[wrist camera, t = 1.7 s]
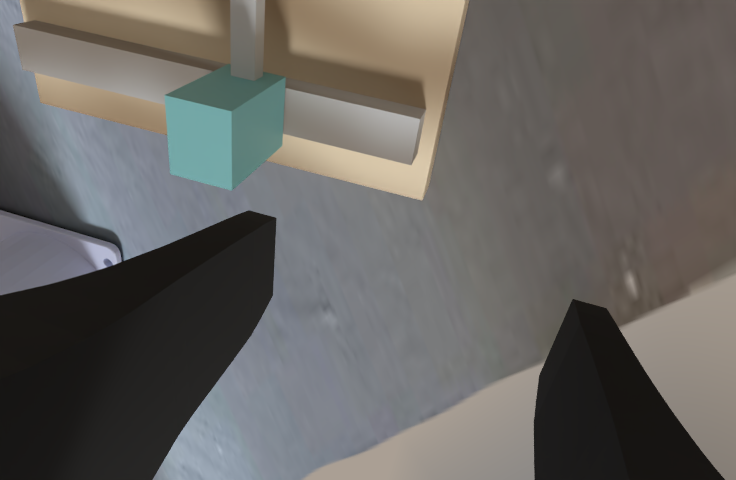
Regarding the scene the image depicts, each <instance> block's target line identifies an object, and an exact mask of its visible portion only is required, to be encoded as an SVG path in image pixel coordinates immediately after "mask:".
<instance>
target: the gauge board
mask: <svg viewBox="0 0 736 480" xmlns="http://www.w3.org/2000/svg"><path fill="white" fill-rule="evenodd" d="M20 4H21V9H22V14H23V19H24V23H19V24H15V25H13V28H14V32H15V37H16V42H17V46H18V51H19V56H20V60H21V65H22V70H26V71H30V72H34V73H35V78H36V83H37V88H38V93H39V97H40V102H41V103H43V104H47V105H51V106H55V107H59V108H63V109H67V110H71V111H75V112H79V113H82V114H86V115H90V116H94V117H98V118H102V119H106V120H110V121H114V122H118V123H121V124H125V125H129V126H133V127H137V128H141V129H145V130H149V131H153V132H157V133H160V134H164V135H167V123H166V109H165V96H164V95H166V94H168V93H170V92H172V91H174V90H176V89H178V88H180V87H182V86H184V85H186V84H188V83H190V82H193V81H195V80H197V79H199V78H201V77H203V76H205V75H207V74H209V73H211V72H213V71H215V70H217V69H219V68H221V67H223V66H225V65H227V64H231V35H230V0H20ZM468 4H469V0H265V21H264V58H263V72H267V73H271V74H276V75H280V76H284V77H286V81H285V101H284V121H283V141H282V147H280V148H279V149H278V150H277V151H276V152H275V153H274V154H273V155H271V156H270V157H269V158H268V159H267V160H266V161H270V162H274V163H278V164H281V165H285V166H289V167H293V168H297V169H301V170H305V171H309V172H313V173H317V174H320V175H324V176H328V177H332V178H336V179H340V180H344V181H348V182H352V183H356V184H360V185H363V186H367V187H371V188H375V189H379V190H383V191H387V192H391V193H395V194H399V195H402V196H406V197H410V198H414V199H418V200H423V198H424V196H425V193H426V191H427V189H428V187H429V182H430V178H431V173H432V169H433V164H434V159H435V155H436V150H437V146H438V141H439V136H440V132H441V127H442V123H443V118H444V114H445V109H446V104H447V100H448V95H449V91H450V86H451V82H452V77H453V72H454V68H455V63H456V59H457V54H458V50H459V45H460V40H461V36H462V31H463V27H464V22H465V18H466V13H467V8H468Z"/></svg>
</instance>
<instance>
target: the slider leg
mask: <svg viewBox="0 0 736 480" xmlns="http://www.w3.org/2000/svg"><path fill="white" fill-rule="evenodd" d="M264 21H265V0H230V35H231V64H227V65H225V66H223V67H221V68H219V69H217V70H215V71H213V72H211V73H209V74H207V75H205V76H203V77H201V78H199V79H197V80H195V81H193V82H190V83H188V84H186V85H184V86H182V87H180V88H178V89H176V90H174V91H172V92H170V93H168V94H166V95H164V96H165V109H166V123H167V136H168V150H169V163H170V174H172V175H176V176H180V177H183V178H187V179H191V180H195V181H198V182H202V183H206V184H209V185H213V186H217V187H221V188H224V189H228V190H233V189H234V188H235V187H237V186H238V185H239V184H240V183H241V182H242V181H243V180H244V179H246V178H247V177H248V176H249V175H250V174H251V173H252V172H253V171H255V170H256V169H257V168H258V167H259V166H260V165H261V164H262V163H264V162H265V161H266V160H267V159H268V158H269V157H270V156H271V155H273V154H274V153H275V152H276V151H277V150H278V149H279V148H280V147H282V141H283V121H284V101H285V81H286V77H284V76H280V75H276V74H271V73H267V72H263V58H264Z"/></svg>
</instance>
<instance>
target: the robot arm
mask: <svg viewBox="0 0 736 480" xmlns="http://www.w3.org/2000/svg"><path fill="white" fill-rule="evenodd" d="M275 235H276V218H275V217H271V216H267V215H264V214H260V213H256V212H253V211H246V212H244V213H241V214H238V215H236V216H233V217H231V218H228V219H226V220H224V221H221V222H219V223H217V224H214V225H212V226H210V227H208V228H205V229H203V230H201V231H198V232H196V233H194V234H191V235H189V236H187V237H184V238H182V239H179V240H177V241H175V242H172V243H170V244H168V245H165V246H163V247H160V248H158V249H155V250H152V251H150V252H147V253H144V254H142V255H139V256H136V257H134V258H131V259H128V260H126V261H123V262H122V261H121V254H120V251H119V249H118V248H117V246H115V245H114V244H112V243H110V242H106V241H103V240H100V239H96V238H93V237H89V236H86V235H83V234H79V233H76V232H73V231H69V230H66V229H63V228H59V227H56V226H53V225H49V224H46V223H42V222H39V221H36V220H32V219H29V218H26V217H22V216H19V215H16V214H12V213H9V212H5V211H2V210H0V480H152V479H153V478H154V476H155V474H156V473H157V471H158V469H159V467H160V466H161V464H162V462H163V461H164V459H165V457H166V456H167V454H168V452H169V451H170V449H171V447H172V445H173V444H174V442H175V440H176V439H177V437H178V435H179V434H180V432H181V431H182V430H183V428H184V427H185V425H186V424H187V422H188V421H189V419H190V418H191V416H192V415H193V414H194V412H195V411H196V409H197V408H198V407H199V405H200V404H201V403H202V401H203V400H204V399H205V397H206V396H207V395H208V393H209V392H210V391H211V389H212V388H213V387H214V385H215V384H216V382H217V381H218V380H219V378H220V377H221V376H222V374H223V373H224V372H225V370H226V369H227V368H228V366H229V365H230V364H231V362H232V361H233V360H234V358H235V357H236V355H237V354H238V353H239V351H240V350H241V349H242V347H243V346H244V344H245V343H246V342H247V340H248V339H249V337H250V336H251V335H252V333H253V331H254V329H255V328H256V326H257V324H258V322H259V320H260V319H261V317H262V315H263V313H264V311H265V309H266V307H267V305H268V304H269V302H270V300H271V298H272V296H273V278H274V257H275ZM534 466H535V467H534V468H535V480H725V479H724V478H723V477H722V476H721V474H720V473H719V472H718V471H717V470H716V469H715V467H714V466H713V465H712V464H711V462H710V461H709V460H708V459H707V458H706V456H705V455H704V454H703V452H702V451H701V450H700V449H699V447H698V446H697V445H696V443H695V442H694V441H693V439H692V438H691V437H690V435H689V434H688V432H687V431H686V430H685V428H684V427H683V426H682V424H681V423H680V422H679V420H678V419H677V418H676V416H675V415H674V413H673V412H672V411H671V409H670V408H669V406H668V405H667V403H666V402H665V401H664V399H663V398H662V396H661V395H660V393H659V392H658V390H657V389H656V387H655V386H654V384H653V383H652V381H651V380H650V378H649V376H648V375H647V373H646V372H645V370H644V369H643V367H642V365H641V364H640V362H639V361H638V359H637V357H636V356H635V354H634V353H633V351H632V349H631V348H630V346H629V344H628V343H627V341H626V340H625V338H624V336H623V335H622V333H621V331H620V330H619V328H618V326H617V325H616V323H615V321H614V320H613V318H612V316H611V315H610V313H609V312H608V310H607V309H606V308H603V307H600V306H596V305H592V304H589V303H585V302H581V301H578V300H574V299H573V300H572V302H571V304H570V307H569V309H568V311H567V314H566V316H565V318H564V320H563V323H562V325H561V327H560V330H559V332H558V334H557V336H556V339H555V341H554V343H553V346H552V348H551V350H550V352H549V355H548V357H547V359H546V361H545V364H544V366H543V368H542V371H541V373H540V375H539V383H538V391H537V399H536V408H535V417H534Z"/></svg>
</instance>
